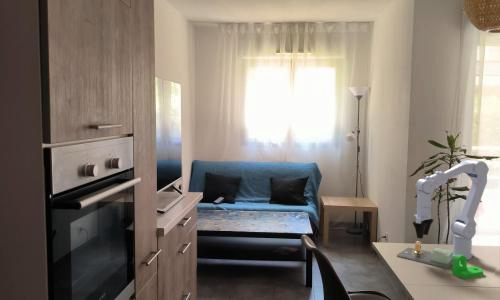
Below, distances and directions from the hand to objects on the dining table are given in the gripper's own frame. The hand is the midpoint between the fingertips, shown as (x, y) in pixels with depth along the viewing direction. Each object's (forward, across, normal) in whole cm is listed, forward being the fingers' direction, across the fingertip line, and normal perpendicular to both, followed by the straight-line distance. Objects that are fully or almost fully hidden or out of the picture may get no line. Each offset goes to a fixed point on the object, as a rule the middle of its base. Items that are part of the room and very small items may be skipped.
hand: (422, 236), depth 195 cm
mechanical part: (+10, +8, +21) cm, 25 cm away
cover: (+9, 0, +8) cm, 12 cm away
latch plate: (+10, -1, +2) cm, 10 cm away
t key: (+8, -4, -3) cm, 9 cm away
